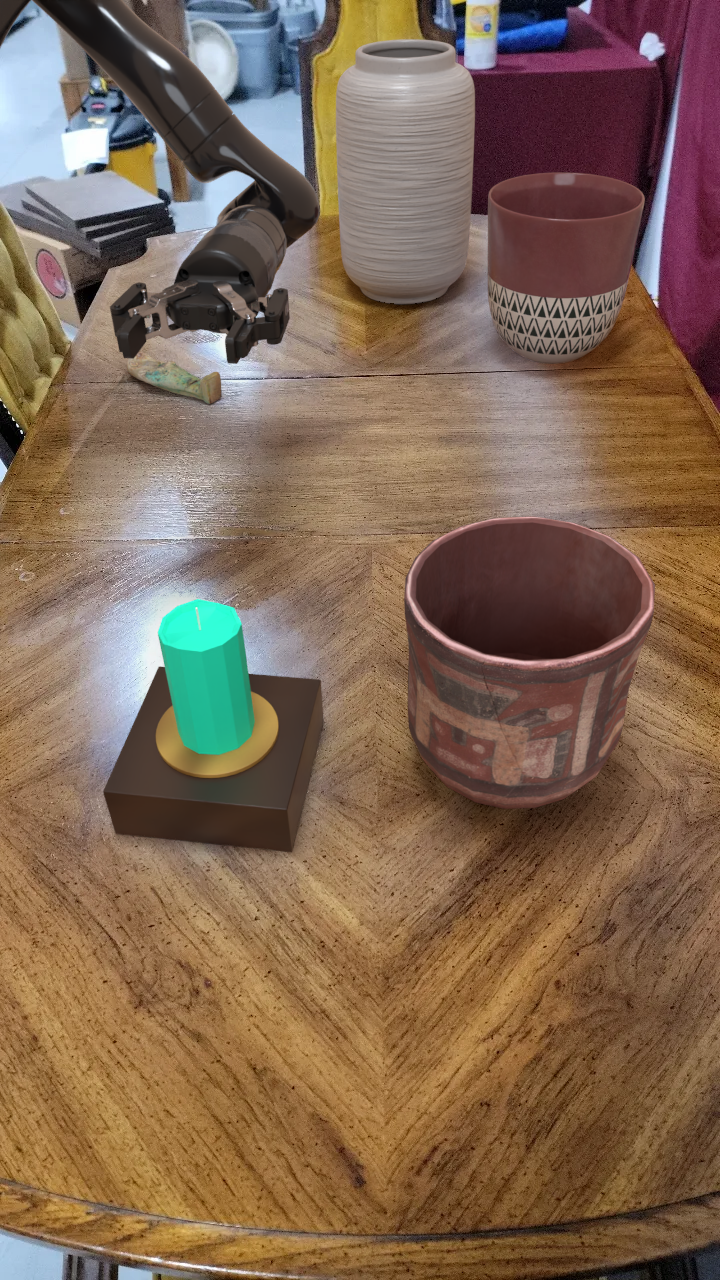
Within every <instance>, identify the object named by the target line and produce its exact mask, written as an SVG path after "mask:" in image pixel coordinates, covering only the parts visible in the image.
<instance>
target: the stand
mask: <svg viewBox="0 0 720 1280" xmlns="http://www.w3.org/2000/svg"><path fill="white" fill-rule="evenodd" d="M248 674H249V682H250V689H251V697H252V704H253V712H254V719H255V723H254V728H253V732H252V736H251V737H250V738H249V739H248V740H247V741H246V742H245V743H244V744H242V745H241V746H240V747H239V748H238V749H235V750H232V751H229V752H226V753H223V754H220V755H212V754H198V753H197V752H195V751H193V750H191V749H189V748H188V747H186V746H184V744H183V742H182V740H181V737H180V735H179V733H178V729H177V724H176V719H175V714H174V709H173V704H172V700H171V695H170V690H169V685H168V680H167V675H166V671H165V666H157V670H156V672H155V674H154V676H153V678H152V680H151V682H150V685H149V687H148V689H147V692H146V694H145V695H144V698H143V701H142V702H141V705H140V707H139V710H138V712H137V715H135V716H136V717H135V719H134V721H133V723H132V725H131V728H130V730H129V732H128V734H127V737H126V739H125V741H124V743H123V746H122V748H121V750H120V753H119V755H118V757H117V759H116V762H115V763H114V766H113V768H112V771H111V773H110V775H109V776H108V780H107V782H106V783H105V786H104V788H103V791H102V793H103V796H104V800H105V803H106V806H107V810H108V813H109V817H110V820H111V824H112V826H113V829H114V833H115V834H116V835H126V836H134V837H145V838H153V839H165V840H172V841H173V840H174V841H182V842H190V843H191V842H193V843H203V844H212V845H220V846H221V845H222V846H230V847H239V848H240V847H241V848H248V849H257V850H258V849H259V850H269V851H277V852H285V853H292V852H293V849H294V846H295V841H296V836H297V832H298V829H299V824H300V821H301V817H302V812H303V808H304V805H305V804H304V803H305V800H306V796H307V792H308V788H309V783H310V779H311V775H312V771H313V768H314V767H313V766H314V763H315V759H316V755H317V751H318V746H319V743H320V738H321V734H322V730H323V726H324V722H325V721H324V708H323V706H324V705H323V694H322V693H323V692H322V690H323V689H322V680H321V679H319V678H318V679H317V678H307V677H294V676H282V675H281V676H280V675H269V674H257V673H248Z"/></svg>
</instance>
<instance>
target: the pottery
mask: <svg viewBox="0 0 720 1280" xmlns="http://www.w3.org/2000/svg"><path fill="white" fill-rule="evenodd" d="M655 593H656V584H655V582H654V581H653V578H652V577H651V575H650V574H649V572H648V570H647V569H646V567H645V566H644V564H643V562H642V560H641V559H640V557H639V556H637V555H636V554H635V553H634V552H632V551H631V550H630V549H628V548H627V547H625V546H624V545H623V544H621V543H620V542H619V541H618V540H616V539H615V538H613V537H612V536H610V535H608V534H605V533H603V532H599V531H597V530H594V529H592V528H589V527H586V526H584V525H581V524H578V523H575V522H572V521H571V522H570V521H565V520H558V519H552V518H546V517H540V516H534V515H532V516H531V515H528V516H513V517H512V516H510V517H507V516H506V517H493V518H488V519H485V520H481V521H480V520H479V521H476V522H471V523H468V524H464V525H460V526H458V527H456V528H454V529H452V530H450V531H449V532H446V533H445V534H443V535H441V536H439V537H437V538H435V539H433V540H431V541H430V542H429V544H427V546H425V548H423V549H422V550H421V551H420V552H419V553H418V554H417V555H416V556H415V557H414V559H413V561H412V563H411V566H410V567H409V570H408V572H407V574H406V575H405V580H404V597H403V604H404V619H405V627H406V633H407V635H406V636H407V644H408V646H407V647H408V661H407V662H408V663H407V664H408V665H407V667H408V669H407V670H408V671H407V674H408V675H407V719H408V720H407V722H408V729H409V733H410V735H411V739H412V740H413V742H414V744H415V747H416V749H417V751H418V754H419V755H420V758H421V759H422V760H423V762H424V763H425V765H426V766H427V767H428V768H429V769H430V770H431V772H432V773H433V774H434V775H435V776H436V777H437V778H438V779H439V780H440V781H441V782H442V783H443V784H444V785H445V787H446V788H448V789H449V790H452V791H454V792H455V793H457V794H459V795H460V796H463V797H465V798H466V799H469V800H470V801H472V802H474V803H475V804H481V805H485V806H489V807H494V808H499V809H503V810H506V809H507V810H508V809H511V810H512V809H536V808H539V807H543V806H546V805H549V804H553V803H556V802H560V801H561V800H565V799H566V798H568V797H569V796H571V795H572V794H574V793H575V792H576V791H578V790H580V789H581V788H583V787H584V786H585V785H587V784H588V783H589V782H591V781H592V780H593V779H595V778H596V777H597V776H598V774H600V771H601V770H602V769H603V767H604V765H605V764H606V763H607V761H608V760H609V758H610V756H611V755H612V753H613V752H614V750H615V749H616V748H617V746H618V744H619V742H620V739H621V736H622V733H623V727H624V721H625V715H626V709H627V703H628V697H629V690H630V687H631V684H632V680H633V676H634V673H635V670H636V667H637V663H638V659H639V656H640V654H641V652H642V649H643V646H644V644H645V641H646V639H647V637H648V634H649V631H650V629H651V627H652V623H653V622H652V621H653V617H654V613H655V597H656V596H655Z"/></svg>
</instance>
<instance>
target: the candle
mask: <svg viewBox="0 0 720 1280" xmlns="http://www.w3.org/2000/svg"><path fill="white" fill-rule="evenodd" d="M157 636H158V637H157V638H158V641H159V647H160V651H161V657H162V660H163V665H164V666H163V667H165V671H166V675H167V680H168V685H169V690H170V695H171V700H172V704H173V709H174V714H175V719H176V724H177V729H178V733H179V735H180V737H181V740H182V742H183V744H184V746H186V747H188V748H189V749H191V750H193V751H195V752H197V753H198V754H212V755H220V754H223V753H226V752H229V751H232V750H235V749H238V748H239V747H240V746H241V745H242V744H244V743H245V742H246V741H247V740H248V739H249V738H250V737H251V736H252V732H253V728H254V723H255V719H254V712H253V704H252V697H251V689H250V682H249V674H250V673H249V668H248V660H247V652H246V645H245V638H244V630H243V623H242V620H241V618H240V617H239V614H238V613H237V610H236V608H235V607H234V606H230V605H226V604H222V603H220V602H215V601H210V600H205V599H200V598H196V599H193V600H190V601H188V602H185V603H182V604H179V605H176V607H174V608H172V610H170V611H169V612H167V613H166V614H165V615H164V616H162V618H161V621H160V625H159V627H158V631H157Z"/></svg>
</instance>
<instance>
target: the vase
mask: <svg viewBox="0 0 720 1280" xmlns="http://www.w3.org/2000/svg"><path fill="white" fill-rule="evenodd" d="M473 79H474V78H473V77H472V75H471V73H470V71H469V70H468V69H467V68H466V67H464V66H463V65H462V64H460V63H459V62H456V49H455V46H453V45H452V44H449V43H448V42H444V41H439V40H433V39H432V40H431V39H417V38H416V39H414V38H413V39H412V38H410V39H409V38H405V39H404V38H403V39H390V40H389V39H388V40H380V41H375V42H370V43H365V44H363V45H361V46H360V47H358V48H357V49H356V50H355V63H354V64H352V65H351V66H349V67H347V69H346V70H345V71H344V72H343V73H342V74H341V76H340V77H339V79H338V81H337V86H336V91H335V92H336V94H335V141H336V168H337V169H336V170H337V171H336V174H337V175H336V176H337V198H338V199H337V200H338V220H339V222H338V223H339V243H340V255H341V260H342V261H341V262H342V266H343V269H344V271H345V273H346V275H347V277H348V278H349V279H350V280H351V282H353V283H354V284H355V285H356V286H357V287H359V289H360V291H361V293H362V294H363V295H364V296H366V297H367V298H368V299H370V300H373V301H376V302H379V301H380V302H379V303H384V302H385V304H390V303H394V304H393V305H415V303H417V304H422V302H423V303H428V302H430V301H434V300H436V298H437V299H439V298H440V297H442V296H443V295H445V294H446V292H447V291H448V290H449V287H450V286H451V285H453V284H454V283H455V282H457V280H459V278H460V277H461V276H462V274H463V273H464V270H465V268H466V265H467V262H468V261H467V260H468V255H469V248H470V247H469V246H470V231H471V218H472V217H471V216H472V215H471V214H472V201H473V200H472V199H473V198H472V196H473V177H474V154H475V128H476V127H475V126H476V125H475V123H476V89H475V83H474V80H473Z"/></svg>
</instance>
